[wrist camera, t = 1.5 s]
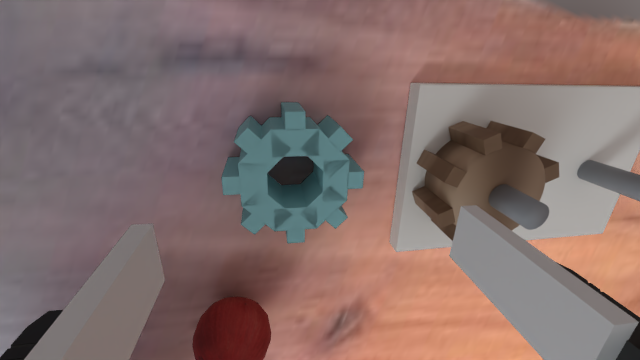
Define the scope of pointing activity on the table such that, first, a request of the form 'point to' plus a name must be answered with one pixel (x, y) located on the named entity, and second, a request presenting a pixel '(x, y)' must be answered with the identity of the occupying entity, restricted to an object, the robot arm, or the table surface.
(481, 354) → the table surface
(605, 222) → the gear board
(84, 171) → the table surface
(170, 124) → the table surface
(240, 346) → the onion
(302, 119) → the teal gear
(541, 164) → the walnut gear
